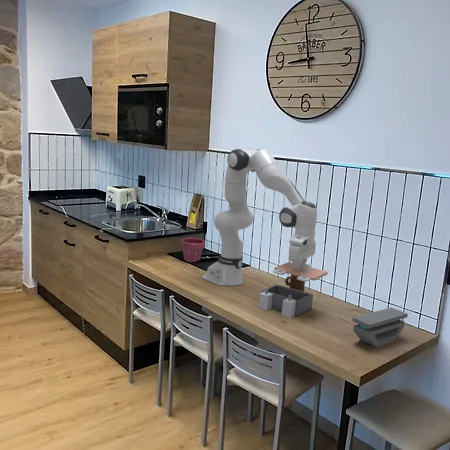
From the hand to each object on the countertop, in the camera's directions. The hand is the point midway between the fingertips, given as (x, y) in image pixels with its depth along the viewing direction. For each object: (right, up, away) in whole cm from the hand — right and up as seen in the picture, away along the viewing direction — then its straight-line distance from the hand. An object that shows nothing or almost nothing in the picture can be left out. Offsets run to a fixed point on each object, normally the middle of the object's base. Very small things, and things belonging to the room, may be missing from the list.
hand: (300, 267), depth 217 cm
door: (-1, -2, -1) cm, 3 cm away
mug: (0, -16, +28) cm, 32 cm away
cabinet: (-7, -19, +6) cm, 21 cm away
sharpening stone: (+27, -28, -24) cm, 45 cm away
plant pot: (-55, -3, +73) cm, 91 cm away
